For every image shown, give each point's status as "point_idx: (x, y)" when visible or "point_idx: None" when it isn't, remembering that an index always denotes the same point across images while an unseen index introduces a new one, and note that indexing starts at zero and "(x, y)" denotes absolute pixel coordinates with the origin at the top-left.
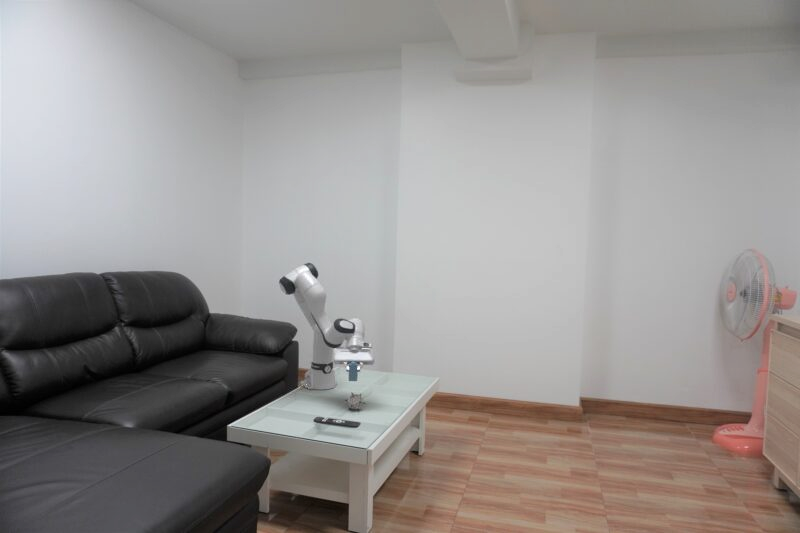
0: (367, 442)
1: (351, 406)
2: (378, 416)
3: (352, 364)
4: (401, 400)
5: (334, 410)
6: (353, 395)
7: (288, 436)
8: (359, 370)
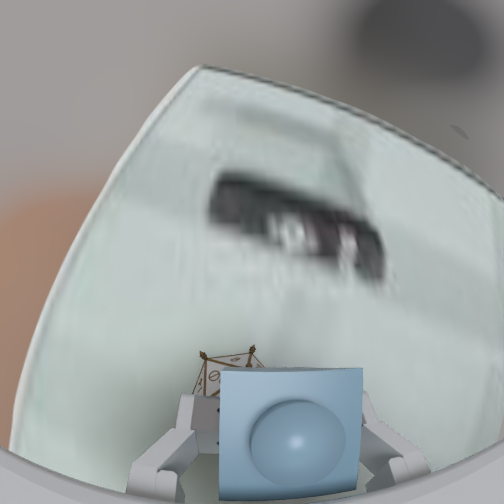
0: (196, 87)
1: (252, 348)
2: (130, 291)
3: (305, 391)
4: None
5: None
6: None
7: (394, 128)
8: (191, 395)
